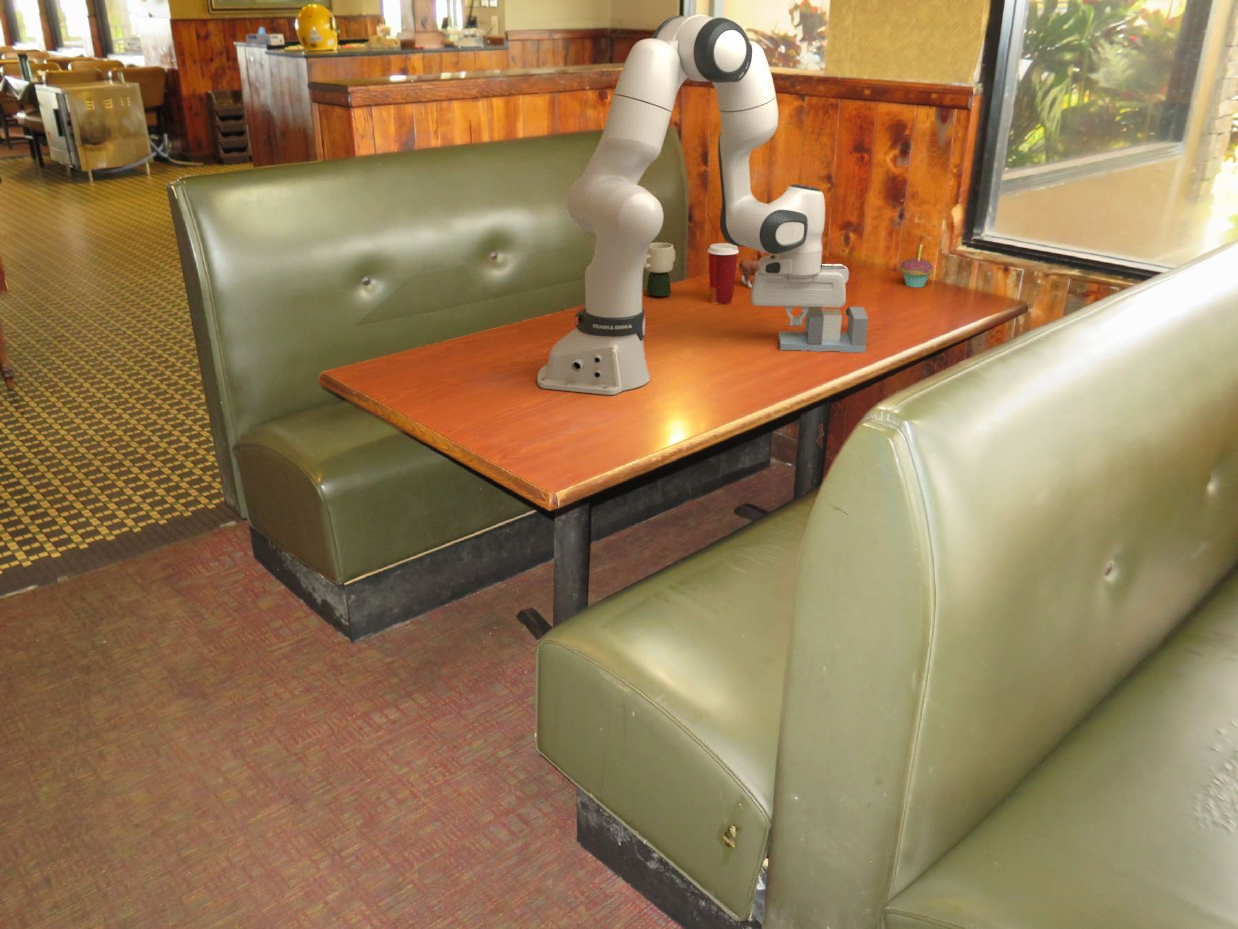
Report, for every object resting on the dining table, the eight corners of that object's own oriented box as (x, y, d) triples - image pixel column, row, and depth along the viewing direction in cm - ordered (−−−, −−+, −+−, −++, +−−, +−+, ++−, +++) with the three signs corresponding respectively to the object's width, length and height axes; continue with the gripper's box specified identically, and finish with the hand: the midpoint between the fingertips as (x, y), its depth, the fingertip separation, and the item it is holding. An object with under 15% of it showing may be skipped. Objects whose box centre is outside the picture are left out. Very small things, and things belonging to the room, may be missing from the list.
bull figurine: (785, 292, 259) (787, 261, 256) (736, 287, 264) (737, 256, 261) (790, 288, 263) (792, 257, 259) (741, 283, 268) (743, 253, 265)
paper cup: (741, 300, 253) (744, 244, 247) (728, 307, 247) (730, 250, 241) (714, 295, 257) (716, 241, 251) (700, 302, 251) (701, 247, 245)
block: (820, 342, 217) (823, 315, 214) (818, 335, 221) (821, 308, 219) (839, 342, 216) (842, 315, 214) (837, 335, 221) (839, 309, 218)
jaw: (807, 343, 215) (809, 316, 213) (804, 331, 223) (806, 305, 221) (821, 344, 215) (823, 317, 212) (818, 331, 223) (820, 305, 221)
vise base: (780, 350, 216) (782, 316, 213) (776, 327, 232) (778, 295, 228) (865, 352, 215) (868, 318, 212) (855, 329, 230) (859, 297, 227)
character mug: (664, 289, 263) (665, 239, 257) (683, 294, 258) (684, 244, 252) (633, 296, 256) (633, 246, 251) (652, 302, 251) (652, 250, 246)
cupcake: (934, 289, 261) (940, 243, 256) (902, 289, 261) (907, 243, 256) (926, 281, 269) (931, 236, 264) (894, 281, 269) (899, 236, 264)
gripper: (848, 260, 215) (842, 322, 221) (752, 258, 216) (749, 320, 222) (851, 267, 209) (845, 330, 215) (753, 265, 211) (749, 328, 217)
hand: (795, 325), depth 219 cm, fingers closed
